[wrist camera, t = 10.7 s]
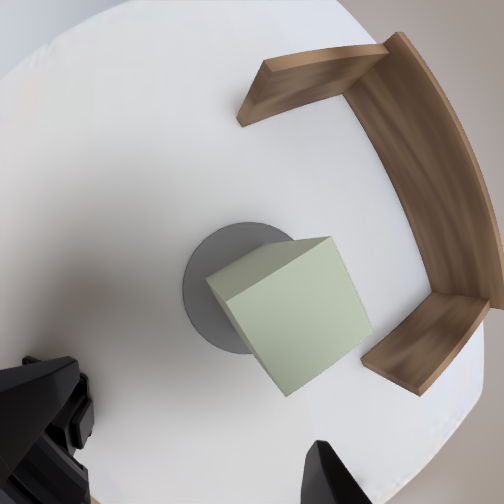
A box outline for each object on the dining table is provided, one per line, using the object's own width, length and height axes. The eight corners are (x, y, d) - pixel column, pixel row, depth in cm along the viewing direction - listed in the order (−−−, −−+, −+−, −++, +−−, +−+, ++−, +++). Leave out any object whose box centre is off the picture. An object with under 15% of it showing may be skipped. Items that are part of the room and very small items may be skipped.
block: (239, 335, 21) (285, 397, 11) (204, 278, 20) (225, 301, 10) (294, 300, 22) (373, 331, 12) (263, 244, 21) (331, 236, 11)
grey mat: (175, 344, 20) (175, 346, 19) (195, 211, 20) (195, 210, 20) (298, 355, 22) (300, 357, 22) (318, 236, 23) (321, 236, 22)
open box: (363, 366, 24) (437, 405, 14) (236, 117, 21) (274, 39, 11) (439, 293, 27) (510, 303, 17) (343, 84, 24) (402, 32, 14)
